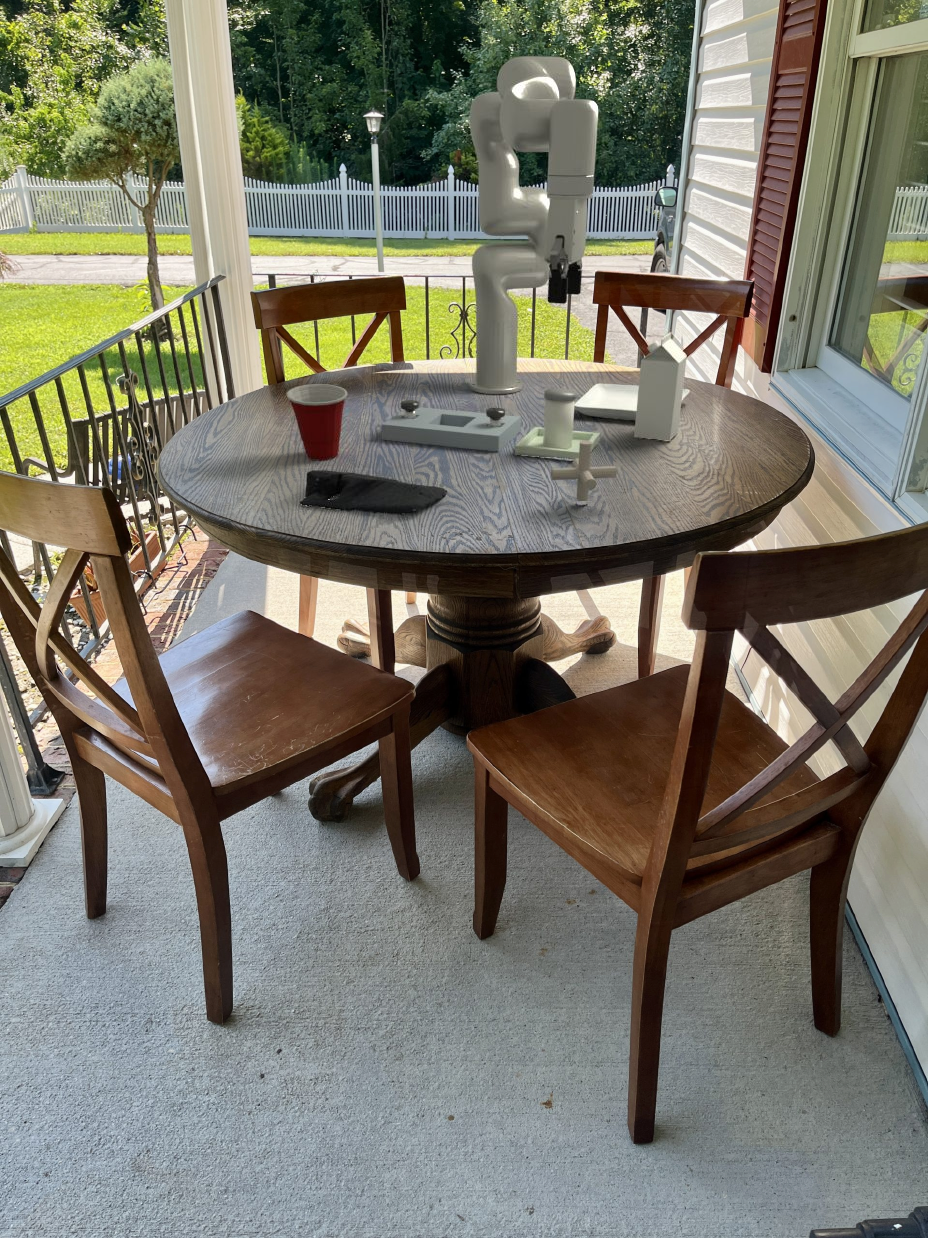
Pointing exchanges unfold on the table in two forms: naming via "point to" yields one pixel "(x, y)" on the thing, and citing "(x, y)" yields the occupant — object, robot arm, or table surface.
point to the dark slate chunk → (367, 493)
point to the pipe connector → (583, 472)
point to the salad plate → (612, 401)
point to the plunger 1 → (410, 408)
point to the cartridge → (558, 418)
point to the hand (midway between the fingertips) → (564, 298)
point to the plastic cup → (319, 418)
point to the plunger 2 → (495, 416)
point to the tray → (534, 447)
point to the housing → (452, 429)
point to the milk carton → (660, 390)
